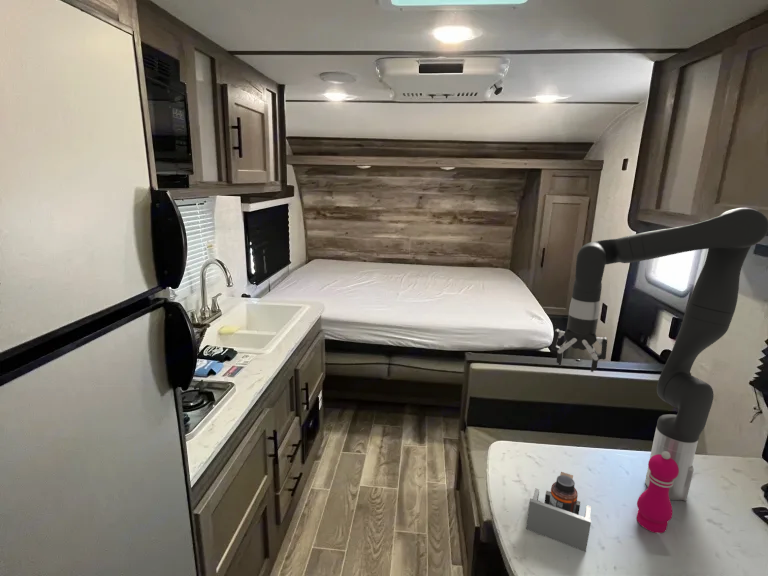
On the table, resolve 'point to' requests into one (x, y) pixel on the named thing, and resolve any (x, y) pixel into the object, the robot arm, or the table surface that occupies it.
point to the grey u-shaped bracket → (558, 523)
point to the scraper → (547, 496)
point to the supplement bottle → (564, 494)
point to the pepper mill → (657, 494)
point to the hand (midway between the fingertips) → (575, 367)
